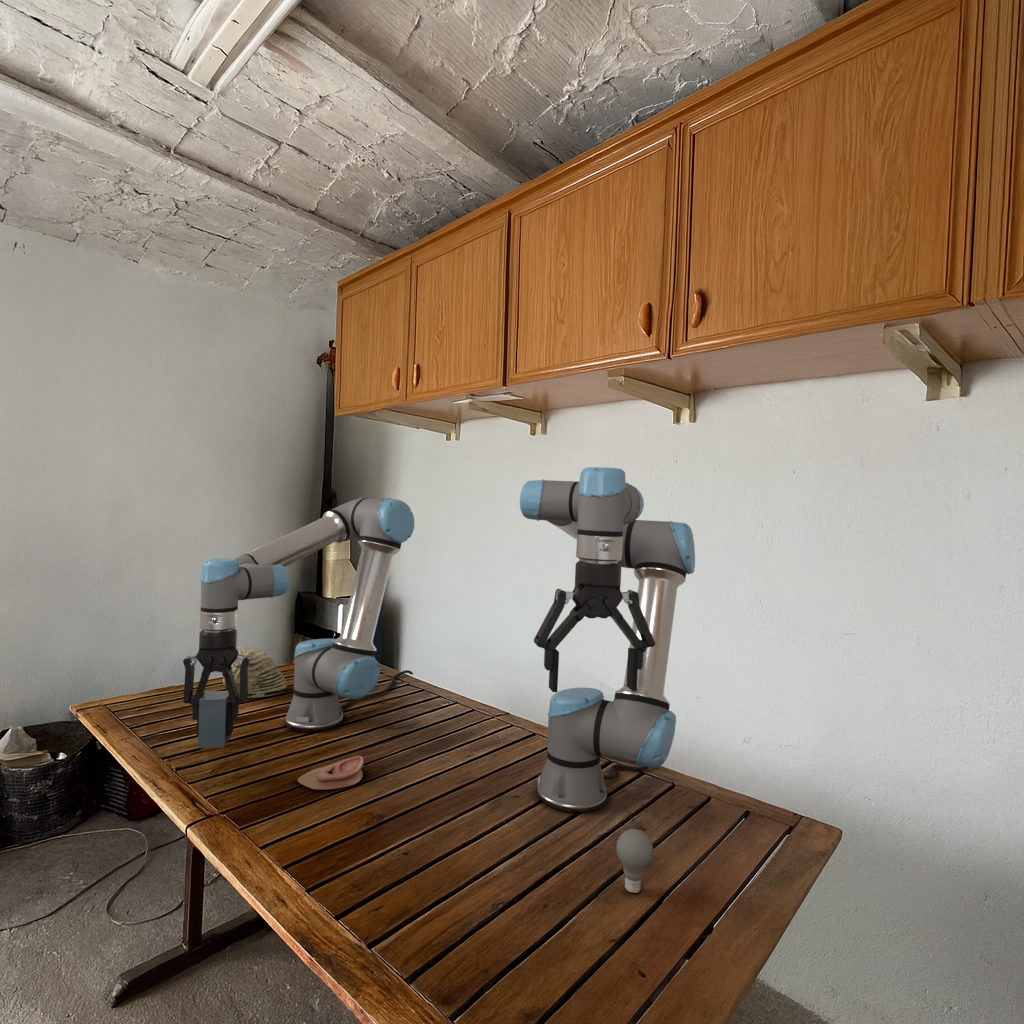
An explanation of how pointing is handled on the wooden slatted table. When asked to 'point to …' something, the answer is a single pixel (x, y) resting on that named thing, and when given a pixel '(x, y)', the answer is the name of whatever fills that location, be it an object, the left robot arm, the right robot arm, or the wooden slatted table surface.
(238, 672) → the fossil
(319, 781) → the anatomical model
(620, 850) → the light bulb
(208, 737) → the brick
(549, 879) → the wooden slatted table surface
